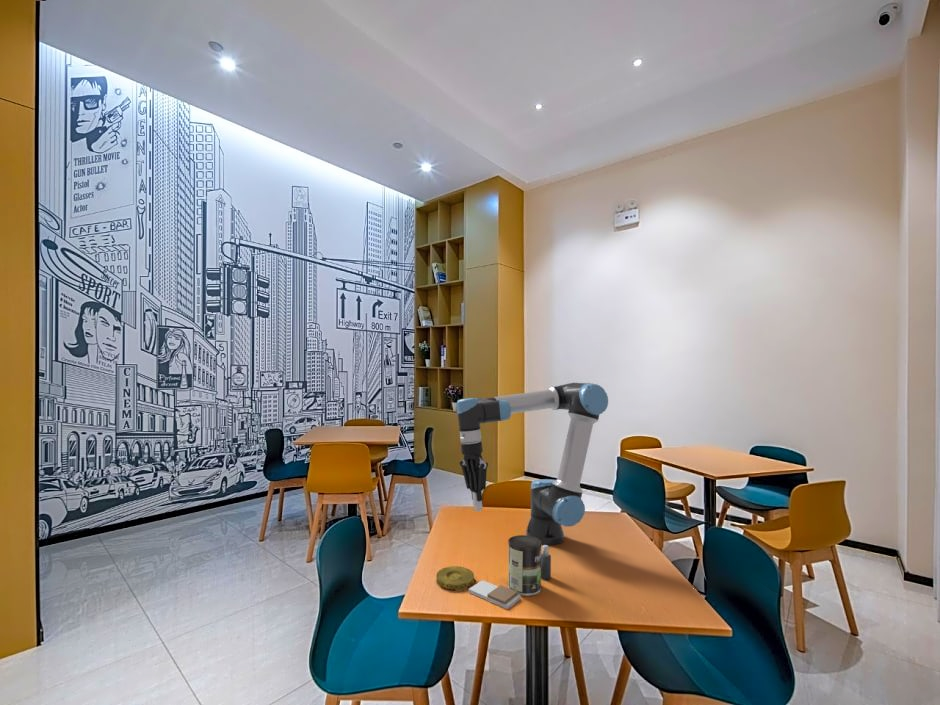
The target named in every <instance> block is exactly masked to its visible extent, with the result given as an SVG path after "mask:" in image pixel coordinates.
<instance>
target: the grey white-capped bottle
mask: <svg viewBox="0 0 940 705" xmlns="http://www.w3.org/2000/svg"><path fill="white" fill-rule="evenodd" d="M549 548H550V547H549V545H546V544H542V553H541V580H543V581H549V580H551V578H552V575H551V574H552V569H551V568H552V565H551V564H552V555H551V554H550V550H549Z"/></svg>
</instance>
